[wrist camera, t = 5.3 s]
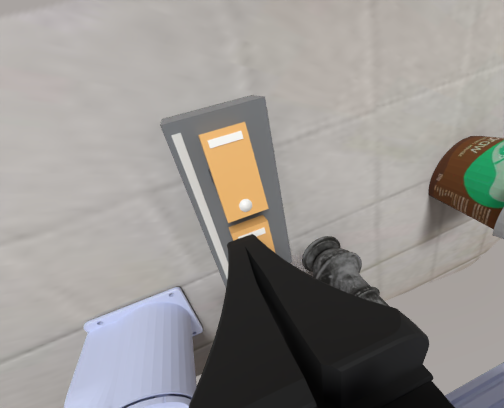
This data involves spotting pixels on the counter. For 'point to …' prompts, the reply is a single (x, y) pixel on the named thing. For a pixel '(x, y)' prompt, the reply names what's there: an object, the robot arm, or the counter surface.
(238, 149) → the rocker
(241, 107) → the rocker switch panel
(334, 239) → the salt shaker
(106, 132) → the counter surface
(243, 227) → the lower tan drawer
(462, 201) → the food container
